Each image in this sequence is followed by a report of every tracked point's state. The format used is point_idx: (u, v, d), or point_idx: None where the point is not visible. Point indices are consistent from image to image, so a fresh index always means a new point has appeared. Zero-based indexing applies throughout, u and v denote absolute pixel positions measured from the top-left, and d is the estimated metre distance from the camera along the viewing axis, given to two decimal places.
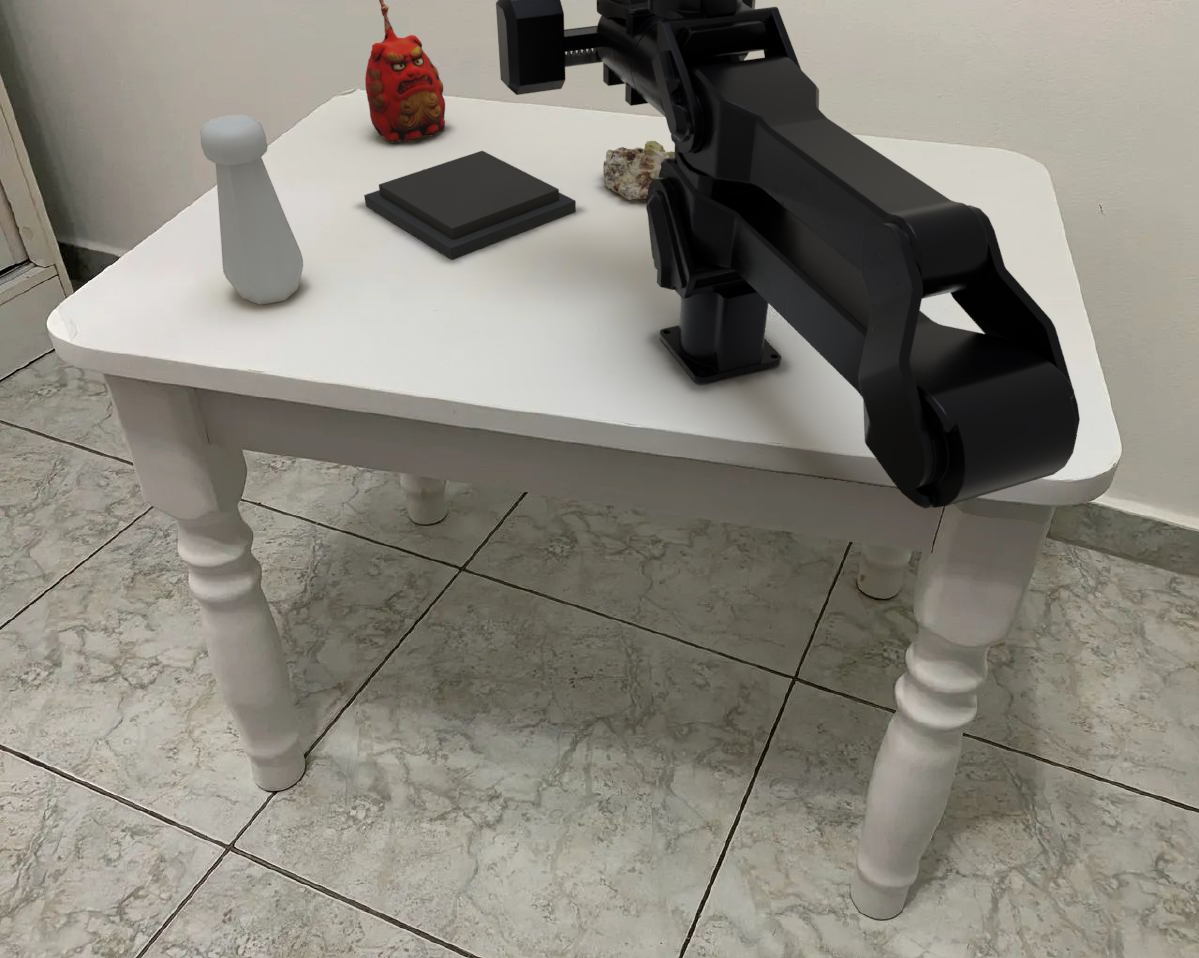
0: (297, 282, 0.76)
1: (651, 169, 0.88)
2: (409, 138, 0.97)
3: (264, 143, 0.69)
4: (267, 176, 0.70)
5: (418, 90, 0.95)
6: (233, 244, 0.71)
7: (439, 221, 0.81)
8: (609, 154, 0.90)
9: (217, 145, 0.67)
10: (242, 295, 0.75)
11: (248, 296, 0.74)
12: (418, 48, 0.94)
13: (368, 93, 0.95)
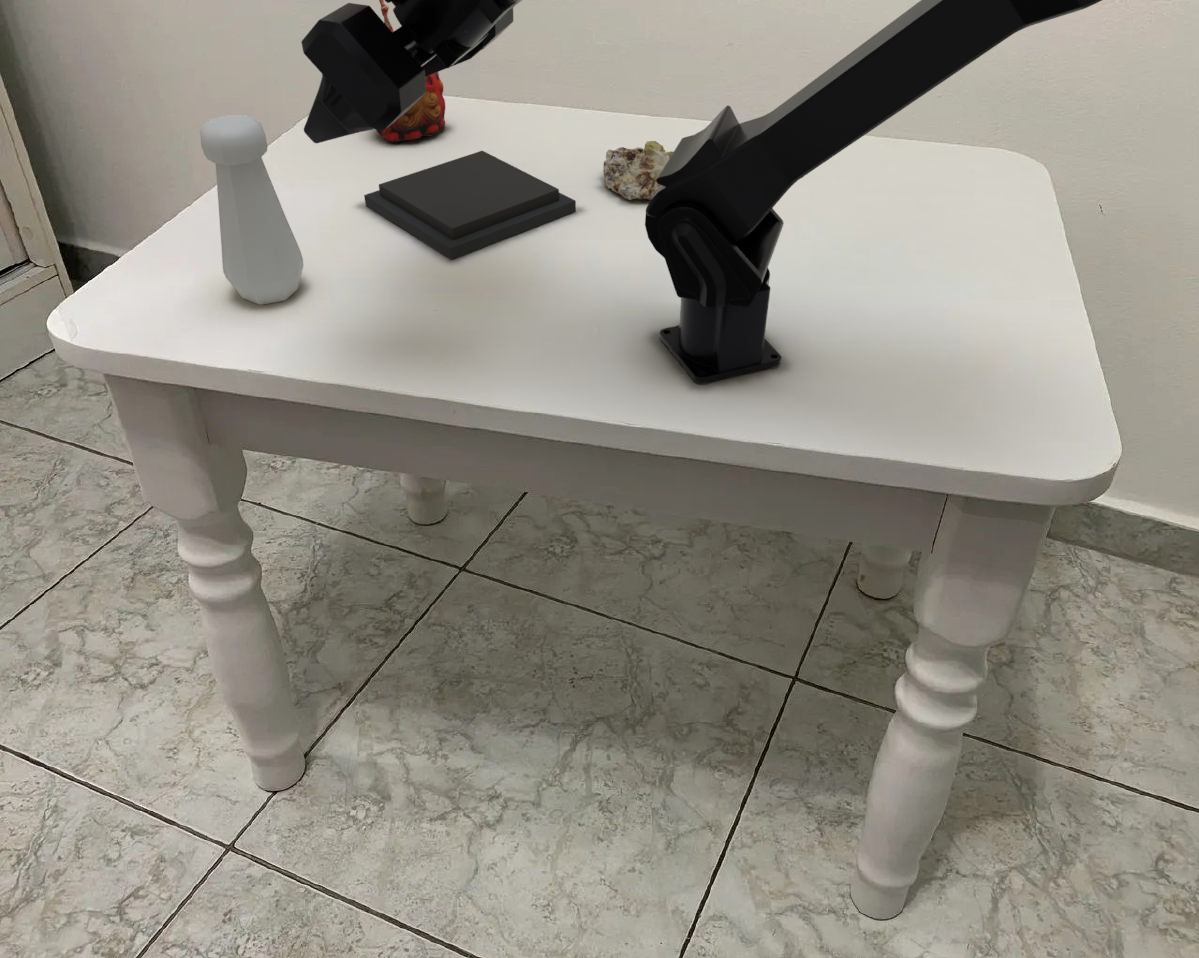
0: (297, 282, 0.76)
1: (651, 169, 0.88)
2: (409, 138, 0.97)
3: (264, 143, 0.69)
4: (267, 176, 0.70)
5: None
6: (233, 244, 0.71)
7: (439, 221, 0.81)
8: (609, 154, 0.90)
9: (217, 145, 0.67)
10: (242, 295, 0.75)
11: (248, 296, 0.74)
12: None
13: None
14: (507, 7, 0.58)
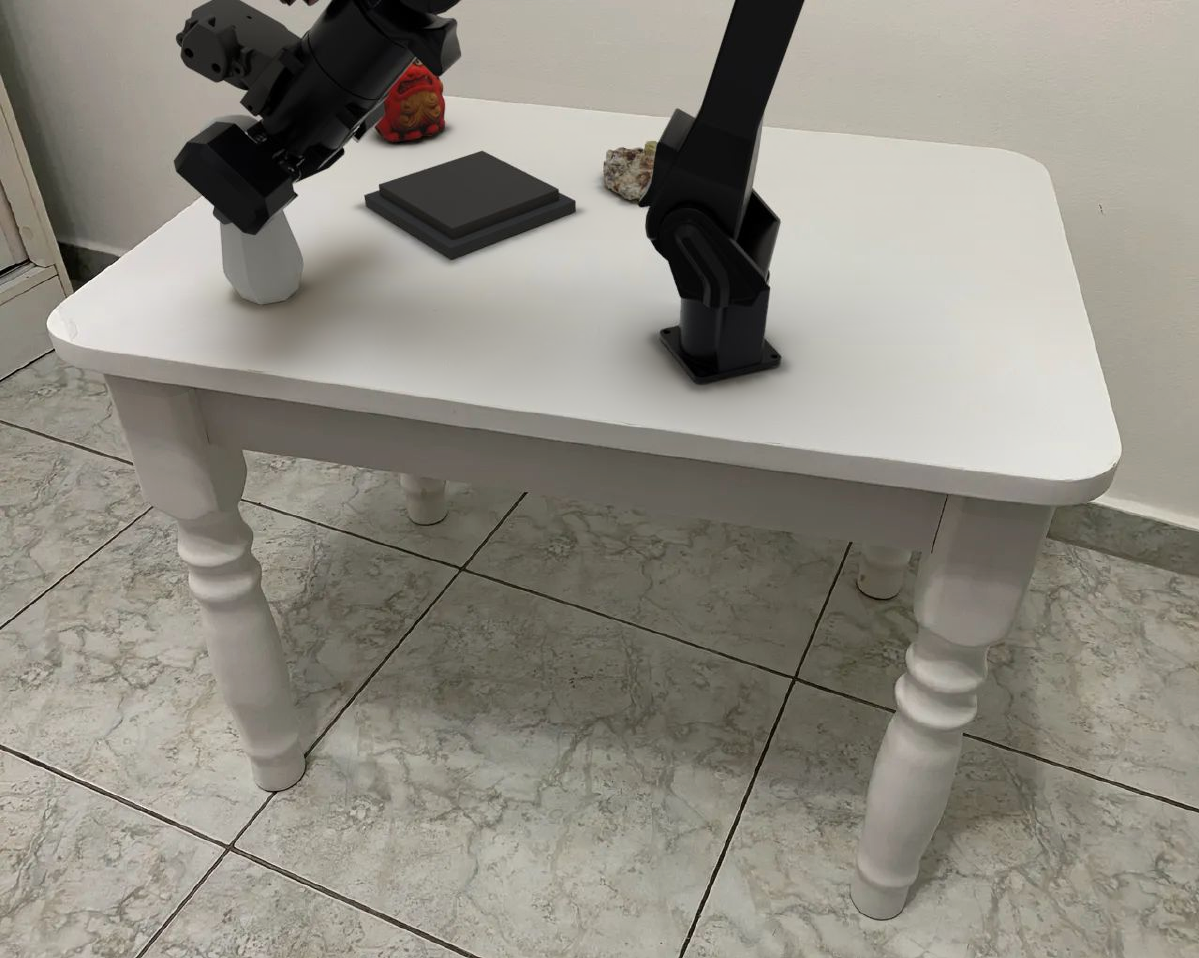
0: (297, 282, 0.76)
1: (651, 169, 0.88)
2: (409, 138, 0.97)
3: None
4: None
5: (418, 90, 0.95)
6: (233, 244, 0.71)
7: (439, 221, 0.81)
8: (609, 154, 0.90)
9: None
10: (242, 295, 0.75)
11: (248, 296, 0.74)
12: None
13: None
14: (363, 114, 0.63)
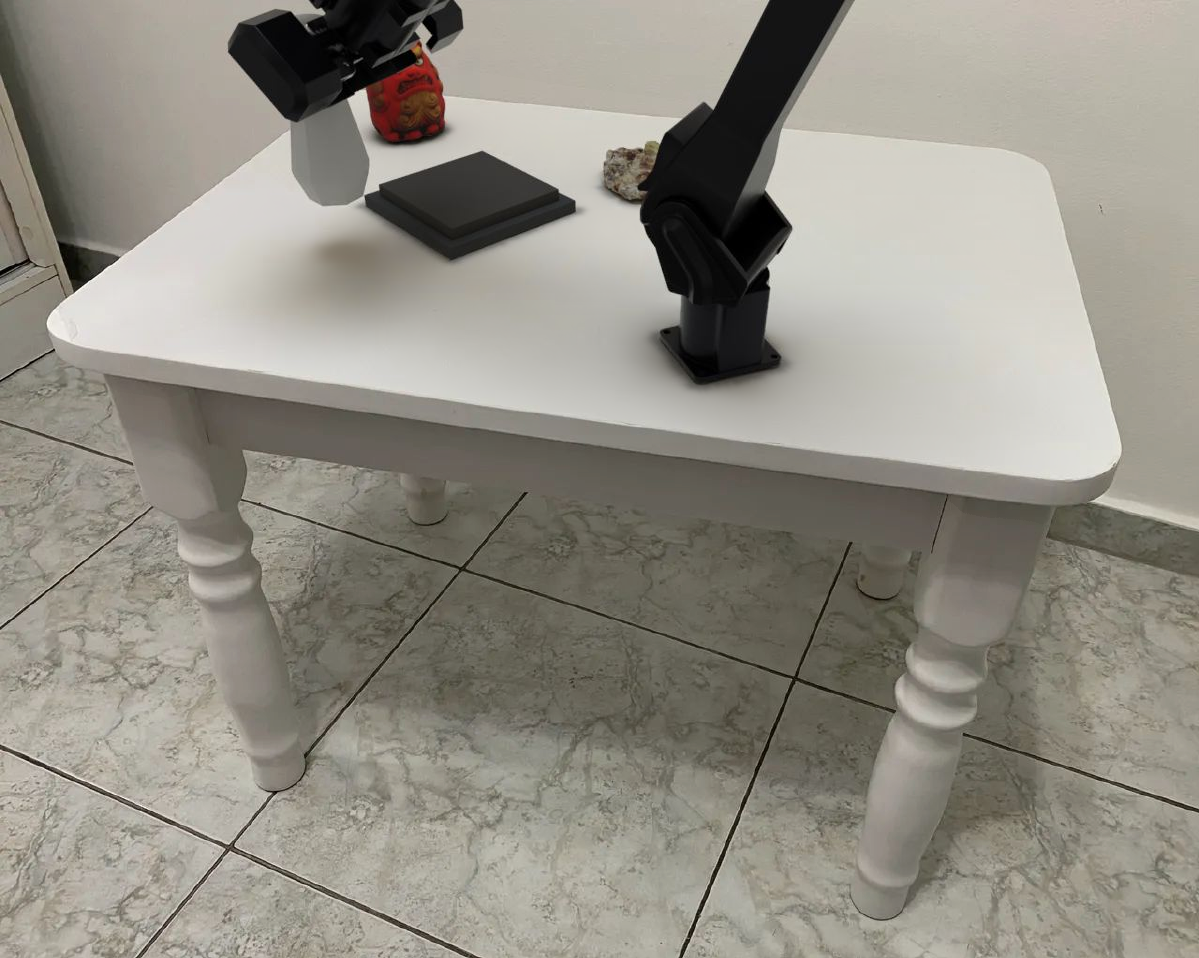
0: (362, 188, 0.77)
1: (651, 169, 0.88)
2: (409, 138, 0.97)
3: None
4: None
5: (418, 90, 0.95)
6: (300, 142, 0.73)
7: (439, 221, 0.81)
8: (609, 154, 0.90)
9: None
10: (308, 196, 0.77)
11: (313, 197, 0.76)
12: (418, 48, 0.94)
13: (368, 93, 0.95)
14: (415, 12, 0.63)
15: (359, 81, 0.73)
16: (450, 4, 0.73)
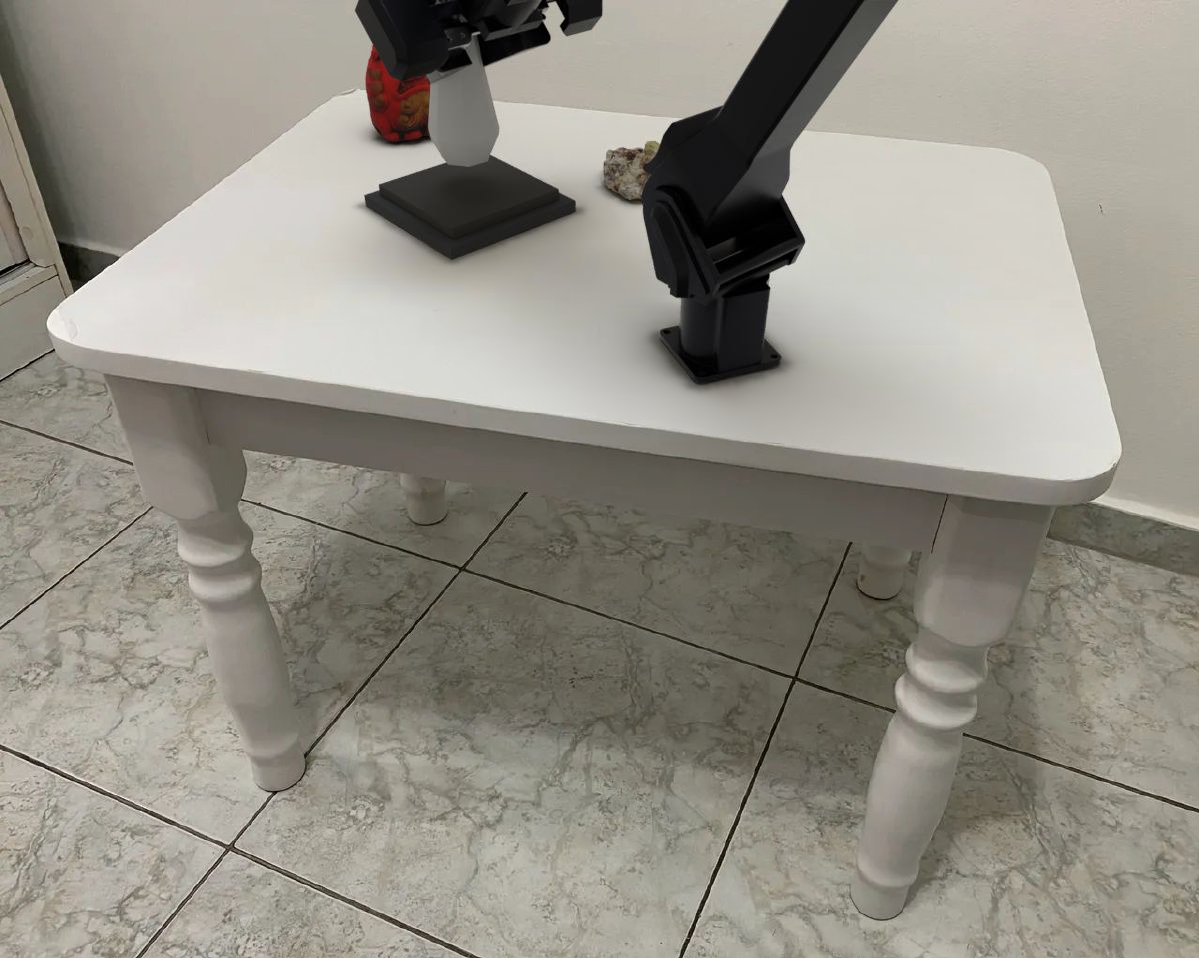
0: (486, 154, 0.82)
1: None
2: (409, 138, 0.97)
3: None
4: (473, 47, 0.77)
5: (418, 90, 0.95)
6: (433, 102, 0.80)
7: (439, 221, 0.81)
8: (609, 154, 0.90)
9: None
10: None
11: (441, 154, 0.82)
12: None
13: (368, 93, 0.95)
14: None
15: (495, 53, 0.78)
16: None
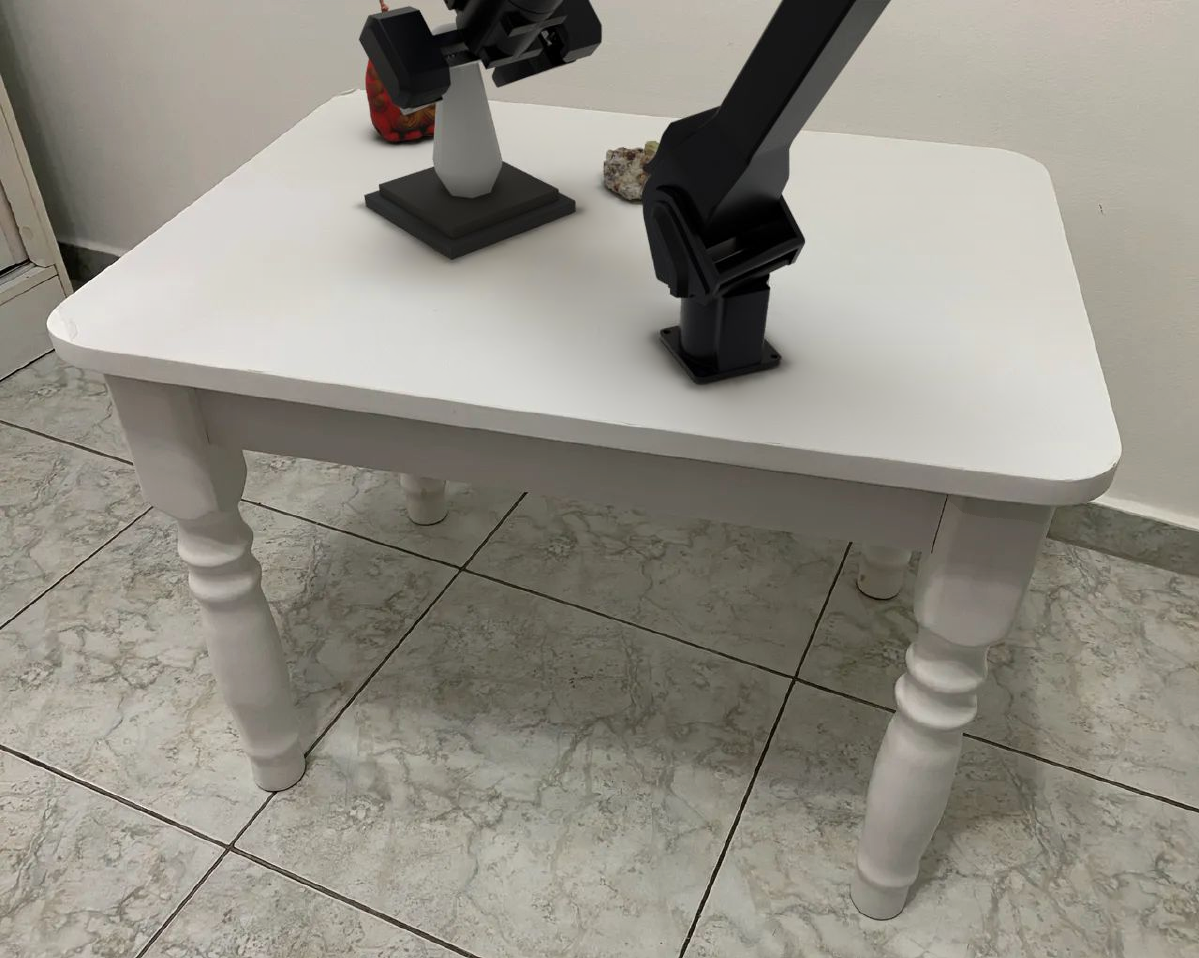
0: (489, 185, 0.84)
1: None
2: (409, 138, 0.97)
3: None
4: (477, 83, 0.79)
5: None
6: (438, 136, 0.81)
7: (439, 221, 0.81)
8: (609, 154, 0.90)
9: None
10: None
11: (445, 185, 0.84)
12: None
13: (368, 93, 0.95)
14: (522, 25, 0.68)
15: (523, 70, 0.81)
16: (590, 18, 0.77)
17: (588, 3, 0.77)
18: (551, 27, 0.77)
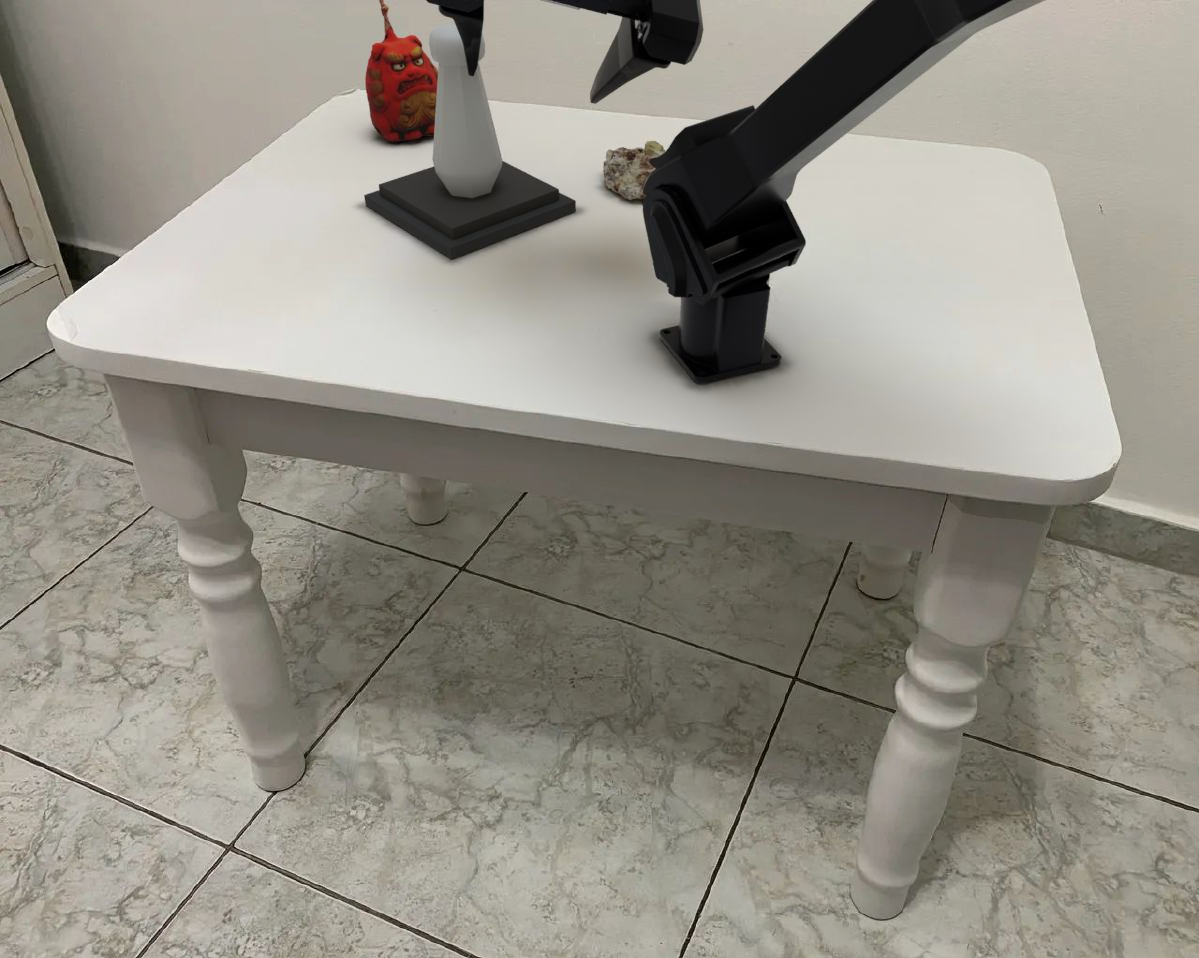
0: (489, 185, 0.84)
1: (651, 169, 0.88)
2: (409, 138, 0.97)
3: None
4: (477, 83, 0.79)
5: (418, 90, 0.95)
6: (438, 136, 0.81)
7: (439, 221, 0.81)
8: (609, 154, 0.90)
9: (434, 44, 0.76)
10: None
11: (445, 185, 0.84)
12: (418, 48, 0.94)
13: (368, 93, 0.95)
14: None
15: (612, 71, 0.71)
16: (689, 13, 0.67)
17: (694, 3, 0.68)
18: (646, 17, 0.68)
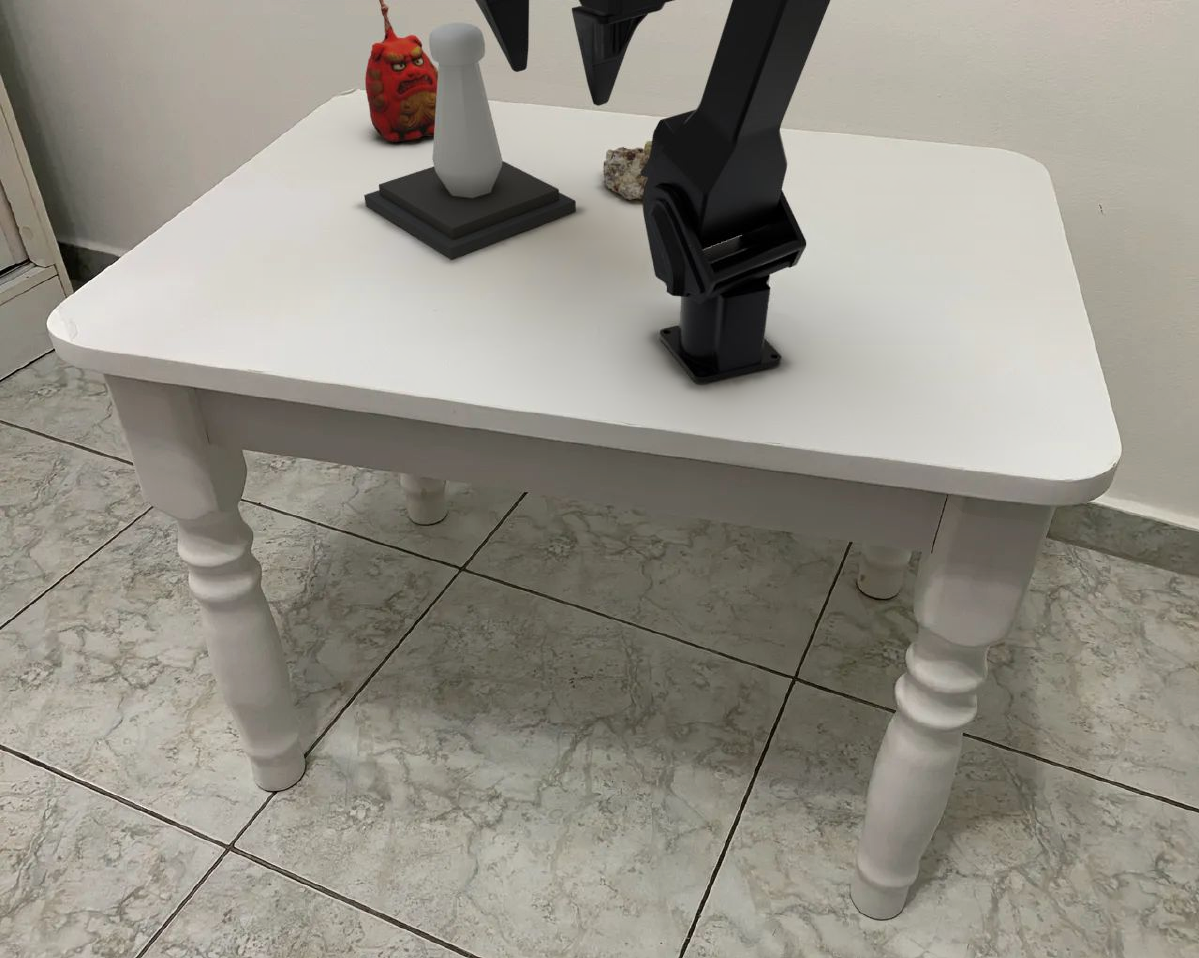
0: (489, 185, 0.84)
1: None
2: (409, 138, 0.97)
3: (476, 52, 0.77)
4: (477, 83, 0.79)
5: (418, 90, 0.95)
6: (438, 136, 0.81)
7: (439, 221, 0.81)
8: (609, 154, 0.90)
9: (434, 44, 0.76)
10: None
11: (445, 185, 0.84)
12: (418, 48, 0.94)
13: (368, 93, 0.95)
14: None
15: None
16: None
17: None
18: None
